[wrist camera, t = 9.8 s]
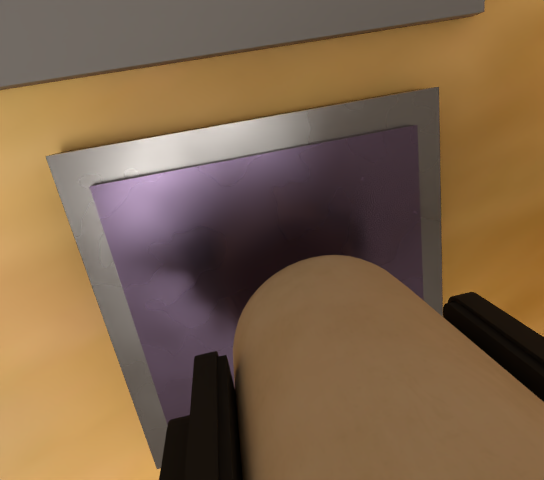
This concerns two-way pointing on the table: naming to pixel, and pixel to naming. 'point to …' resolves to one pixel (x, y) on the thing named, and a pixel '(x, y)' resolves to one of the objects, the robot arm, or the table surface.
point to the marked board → (183, 30)
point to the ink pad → (245, 225)
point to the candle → (372, 385)
